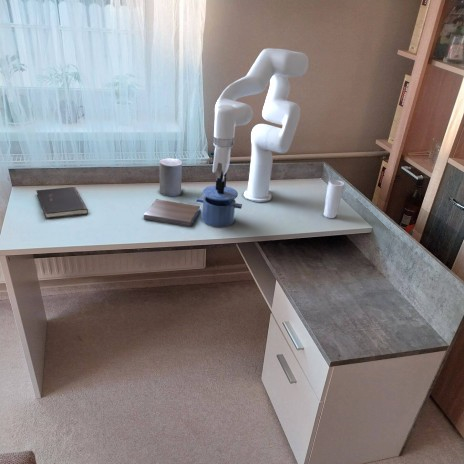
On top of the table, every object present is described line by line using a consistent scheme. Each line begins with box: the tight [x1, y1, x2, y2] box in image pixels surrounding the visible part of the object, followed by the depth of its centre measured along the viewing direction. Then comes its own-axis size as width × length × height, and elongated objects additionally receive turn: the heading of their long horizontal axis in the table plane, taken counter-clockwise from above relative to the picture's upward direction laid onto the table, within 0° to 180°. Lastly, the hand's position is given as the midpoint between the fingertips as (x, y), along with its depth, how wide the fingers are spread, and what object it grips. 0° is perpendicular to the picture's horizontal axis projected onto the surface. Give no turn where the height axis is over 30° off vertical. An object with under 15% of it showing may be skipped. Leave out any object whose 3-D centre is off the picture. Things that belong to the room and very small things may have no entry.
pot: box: [195, 196, 243, 228], centre depth 194 cm, size 13×18×8 cm
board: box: [143, 198, 201, 227], centre depth 196 cm, size 16×19×2 cm
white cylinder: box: [323, 179, 345, 219], centre depth 204 cm, size 7×7×15 cm
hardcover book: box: [35, 186, 89, 220], centre depth 195 cm, size 16×23×2 cm
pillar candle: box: [159, 157, 183, 197], centre depth 210 cm, size 10×10×15 cm
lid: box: [202, 179, 239, 201], centre depth 188 cm, size 14×14×7 cm
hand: (220, 188), depth 189 cm, fingers closed on lid, 2 cm apart
